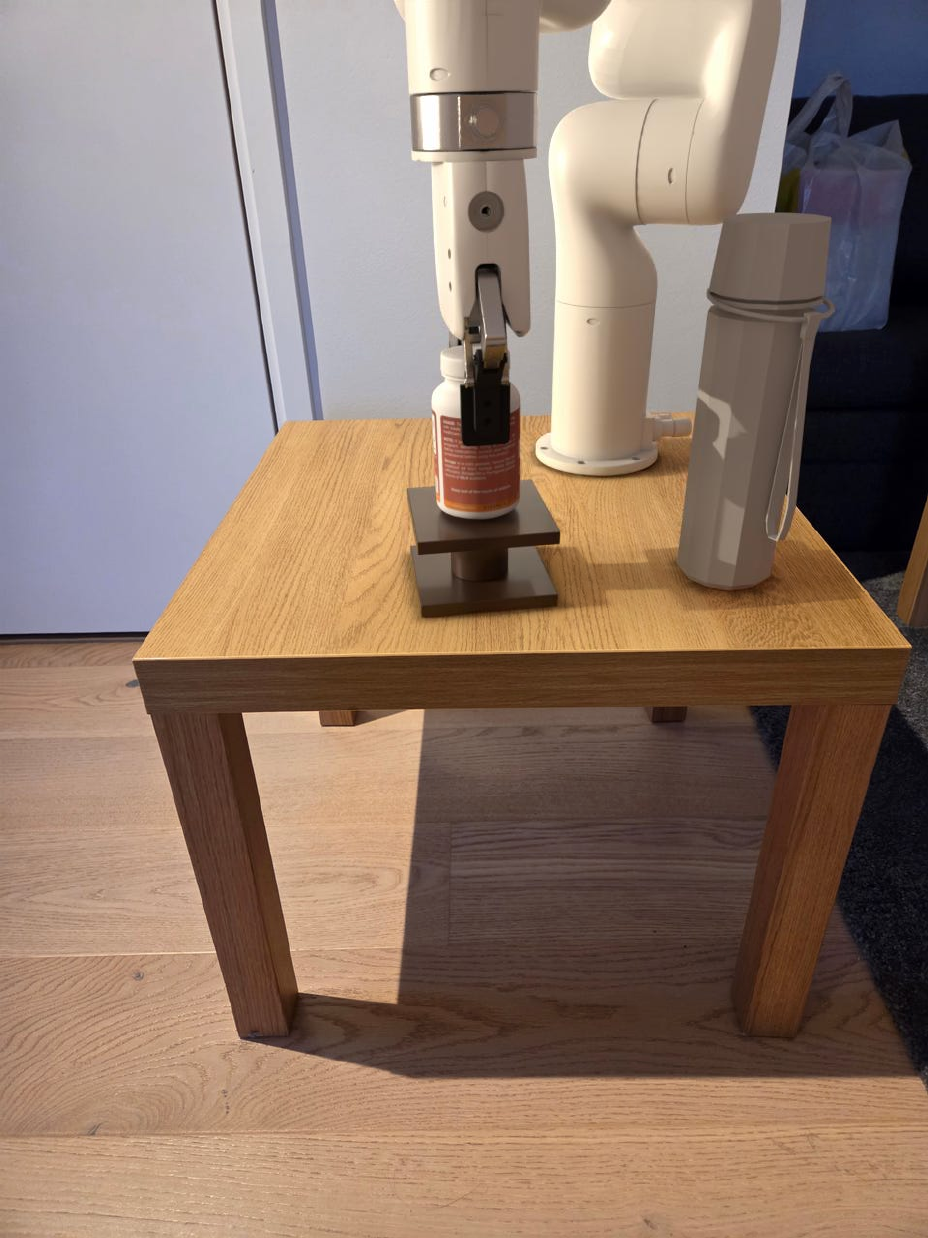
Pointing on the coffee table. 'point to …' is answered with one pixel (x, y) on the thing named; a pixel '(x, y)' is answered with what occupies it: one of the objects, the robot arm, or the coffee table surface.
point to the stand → (481, 556)
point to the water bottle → (752, 395)
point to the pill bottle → (472, 452)
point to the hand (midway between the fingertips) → (477, 424)
